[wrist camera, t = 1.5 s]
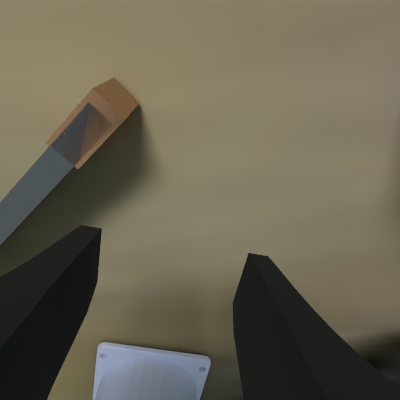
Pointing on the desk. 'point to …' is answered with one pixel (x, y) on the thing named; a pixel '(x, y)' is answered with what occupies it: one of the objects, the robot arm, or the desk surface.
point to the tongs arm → (67, 150)
